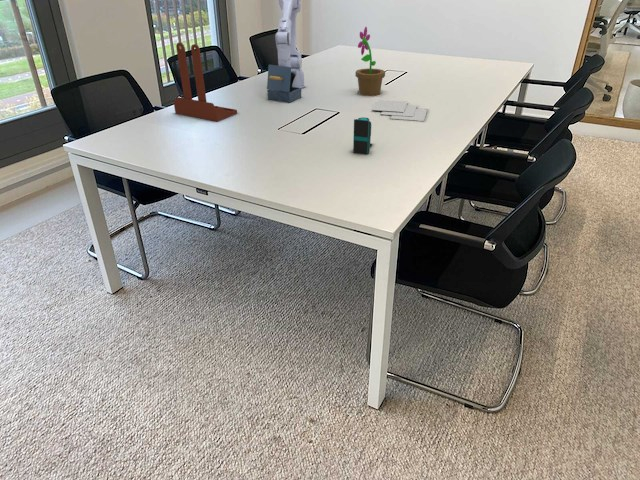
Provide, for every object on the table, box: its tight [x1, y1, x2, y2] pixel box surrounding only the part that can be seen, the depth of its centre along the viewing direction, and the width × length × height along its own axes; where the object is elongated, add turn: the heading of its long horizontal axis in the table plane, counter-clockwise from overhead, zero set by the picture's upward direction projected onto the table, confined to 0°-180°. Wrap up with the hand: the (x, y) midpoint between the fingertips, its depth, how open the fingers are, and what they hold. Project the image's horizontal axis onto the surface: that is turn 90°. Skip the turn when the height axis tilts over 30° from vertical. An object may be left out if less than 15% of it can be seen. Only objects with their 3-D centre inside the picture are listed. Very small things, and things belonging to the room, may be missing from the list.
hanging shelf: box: [173, 42, 238, 123], centre depth 210 cm, size 24×13×30 cm, turn 59°
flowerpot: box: [355, 26, 386, 97], centre depth 236 cm, size 14×14×30 cm
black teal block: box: [352, 116, 373, 155], centre depth 175 cm, size 6×12×10 cm
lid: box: [266, 64, 291, 92], centre depth 228 cm, size 11×12×4 cm
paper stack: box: [371, 99, 428, 122], centre depth 217 cm, size 23×25×1 cm
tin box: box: [266, 87, 302, 104], centre depth 236 cm, size 10×12×4 cm
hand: (285, 88), depth 236 cm, fingers closed on walnut block, 4 cm apart
